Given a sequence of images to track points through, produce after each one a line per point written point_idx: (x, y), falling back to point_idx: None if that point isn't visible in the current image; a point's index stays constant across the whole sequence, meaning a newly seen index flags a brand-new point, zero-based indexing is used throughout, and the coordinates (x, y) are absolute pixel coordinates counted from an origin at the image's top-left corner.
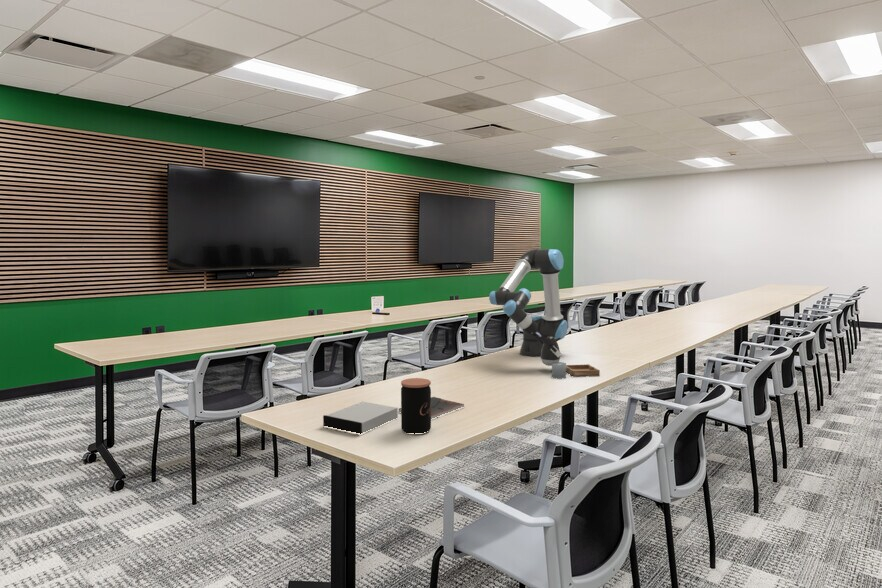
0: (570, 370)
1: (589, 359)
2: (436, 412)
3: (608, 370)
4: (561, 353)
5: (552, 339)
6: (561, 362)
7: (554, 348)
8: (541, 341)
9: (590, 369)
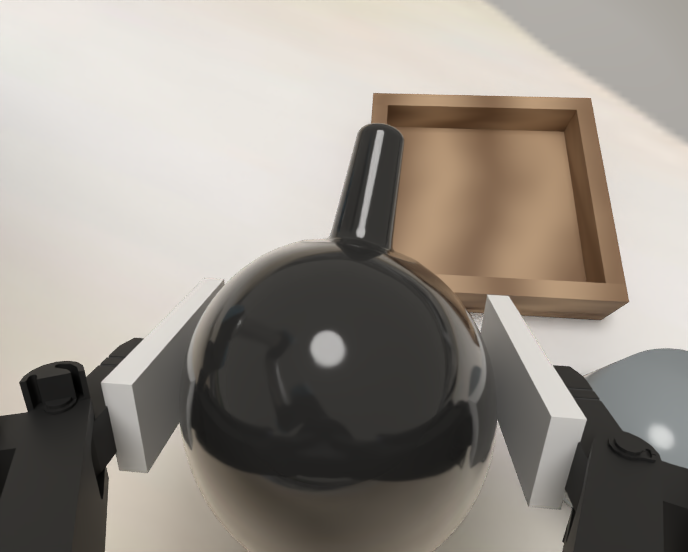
0: (554, 301)
1: (80, 18)
2: None
3: (408, 31)
4: (509, 299)
5: (463, 356)
6: (629, 382)
7: (605, 417)
8: (101, 540)
9: (440, 124)
